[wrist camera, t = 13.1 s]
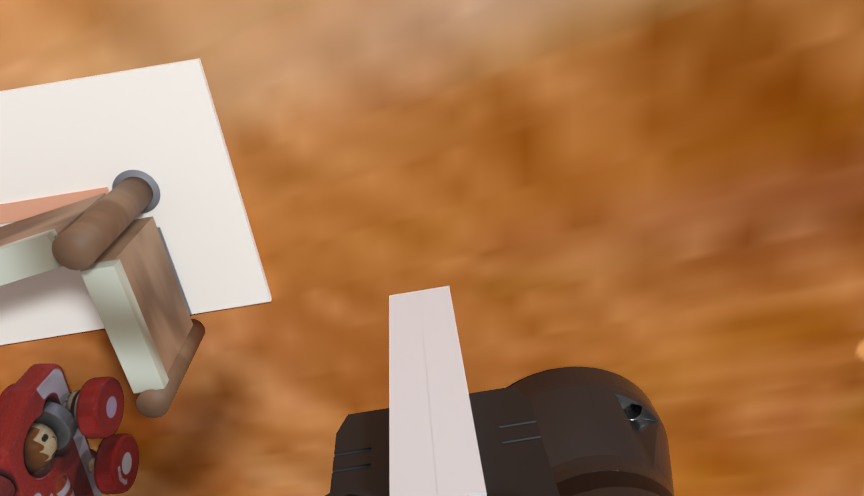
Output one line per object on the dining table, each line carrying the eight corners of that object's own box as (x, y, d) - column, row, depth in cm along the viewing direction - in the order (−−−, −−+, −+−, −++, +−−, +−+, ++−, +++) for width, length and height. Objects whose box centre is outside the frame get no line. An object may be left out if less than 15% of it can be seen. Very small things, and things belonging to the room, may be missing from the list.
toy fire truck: (111, 343, 44) (34, 451, 34) (149, 477, 49) (92, 602, 40) (7, 349, 43) (-99, 459, 34) (57, 483, 49) (-22, 610, 39)
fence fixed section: (209, 338, 44) (169, 426, 36) (181, 342, 44) (134, 431, 36) (149, 171, 39) (85, 230, 30) (117, 176, 39) (44, 237, 30)
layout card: (271, 298, 43) (270, 302, 42) (-3, 342, 43) (-7, 347, 42) (199, 58, 36) (197, 59, 35) (-127, 112, 36) (-134, 114, 36)
